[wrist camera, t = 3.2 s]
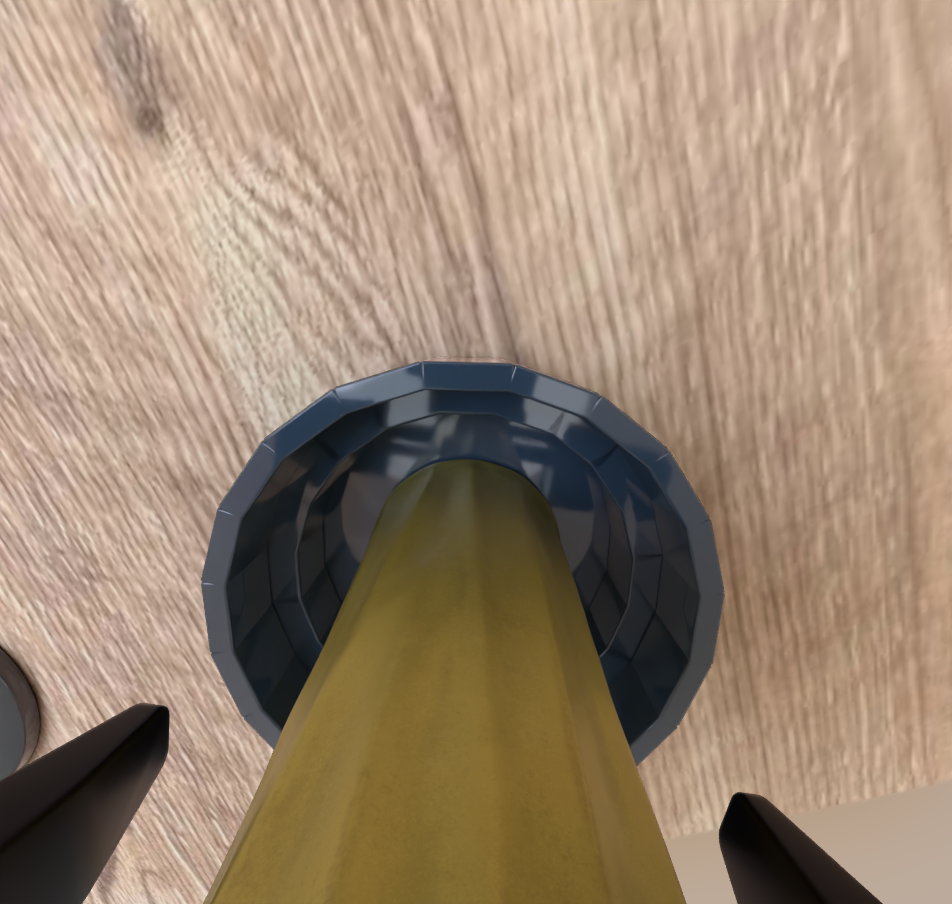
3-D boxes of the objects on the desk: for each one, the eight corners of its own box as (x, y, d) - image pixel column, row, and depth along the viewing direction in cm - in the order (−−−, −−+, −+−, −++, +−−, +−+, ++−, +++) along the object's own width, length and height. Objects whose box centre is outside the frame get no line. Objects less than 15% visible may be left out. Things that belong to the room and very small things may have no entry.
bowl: (714, 585, 15) (809, 681, 11) (426, 749, 17) (409, 891, 12) (518, 273, 13) (540, 235, 8) (207, 498, 14) (91, 564, 10)
